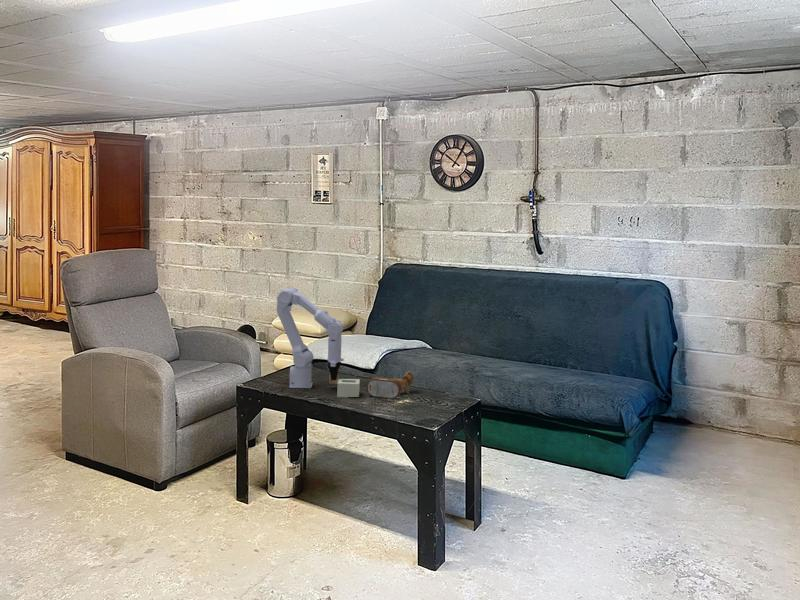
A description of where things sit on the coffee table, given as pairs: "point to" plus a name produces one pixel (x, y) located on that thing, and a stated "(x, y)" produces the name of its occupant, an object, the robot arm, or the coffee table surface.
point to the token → (333, 380)
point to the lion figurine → (406, 381)
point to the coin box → (348, 388)
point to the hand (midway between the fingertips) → (333, 379)
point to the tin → (384, 388)
